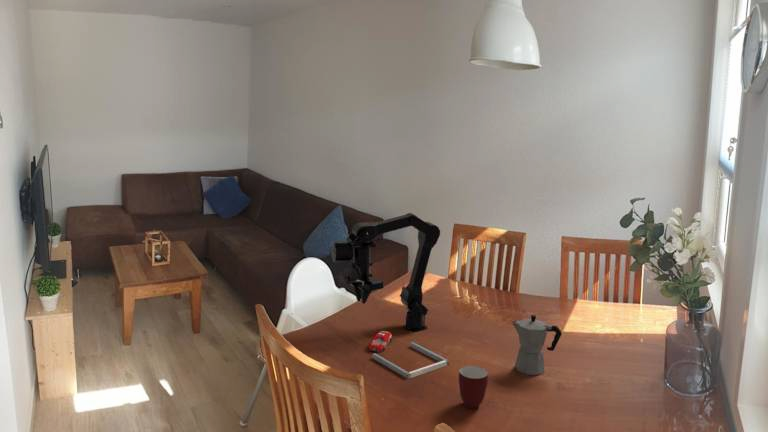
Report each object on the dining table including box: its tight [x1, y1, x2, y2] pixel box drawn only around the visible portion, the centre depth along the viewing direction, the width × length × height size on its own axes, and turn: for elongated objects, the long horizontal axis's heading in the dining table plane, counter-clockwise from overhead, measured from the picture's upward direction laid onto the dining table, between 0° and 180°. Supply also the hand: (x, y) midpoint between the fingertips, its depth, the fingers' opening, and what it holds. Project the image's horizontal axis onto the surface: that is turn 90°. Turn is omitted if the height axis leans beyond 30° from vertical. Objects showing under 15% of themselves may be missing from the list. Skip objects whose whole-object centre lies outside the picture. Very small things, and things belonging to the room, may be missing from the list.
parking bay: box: [372, 341, 450, 380], centre depth 204 cm, size 17×18×2 cm
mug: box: [458, 365, 489, 409], centre depth 178 cm, size 11×8×10 cm
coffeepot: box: [511, 314, 563, 376], centre depth 199 cm, size 15×9×18 cm, turn 68°
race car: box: [368, 330, 393, 353], centre depth 216 cm, size 13×5×4 cm, turn 160°
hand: (361, 302), depth 223 cm, fingers open, 3 cm apart
